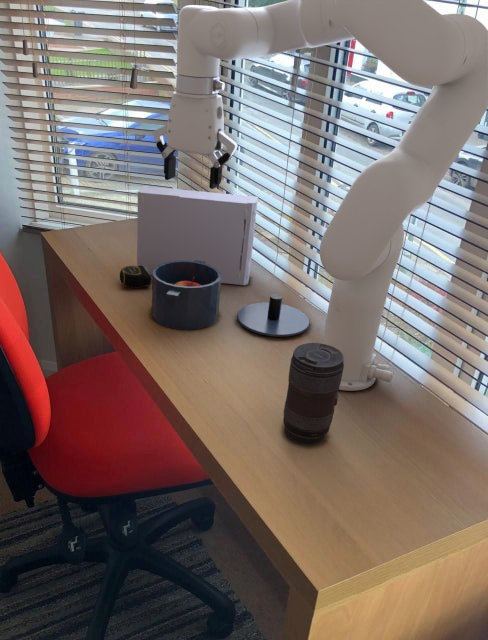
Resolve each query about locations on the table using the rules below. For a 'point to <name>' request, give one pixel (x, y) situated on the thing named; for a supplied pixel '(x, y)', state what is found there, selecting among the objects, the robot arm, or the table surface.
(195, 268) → the pot
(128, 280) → the tape measure
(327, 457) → the table surface
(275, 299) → the lid
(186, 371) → the table surface
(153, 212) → the game console
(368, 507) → the table surface
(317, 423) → the camera lens
